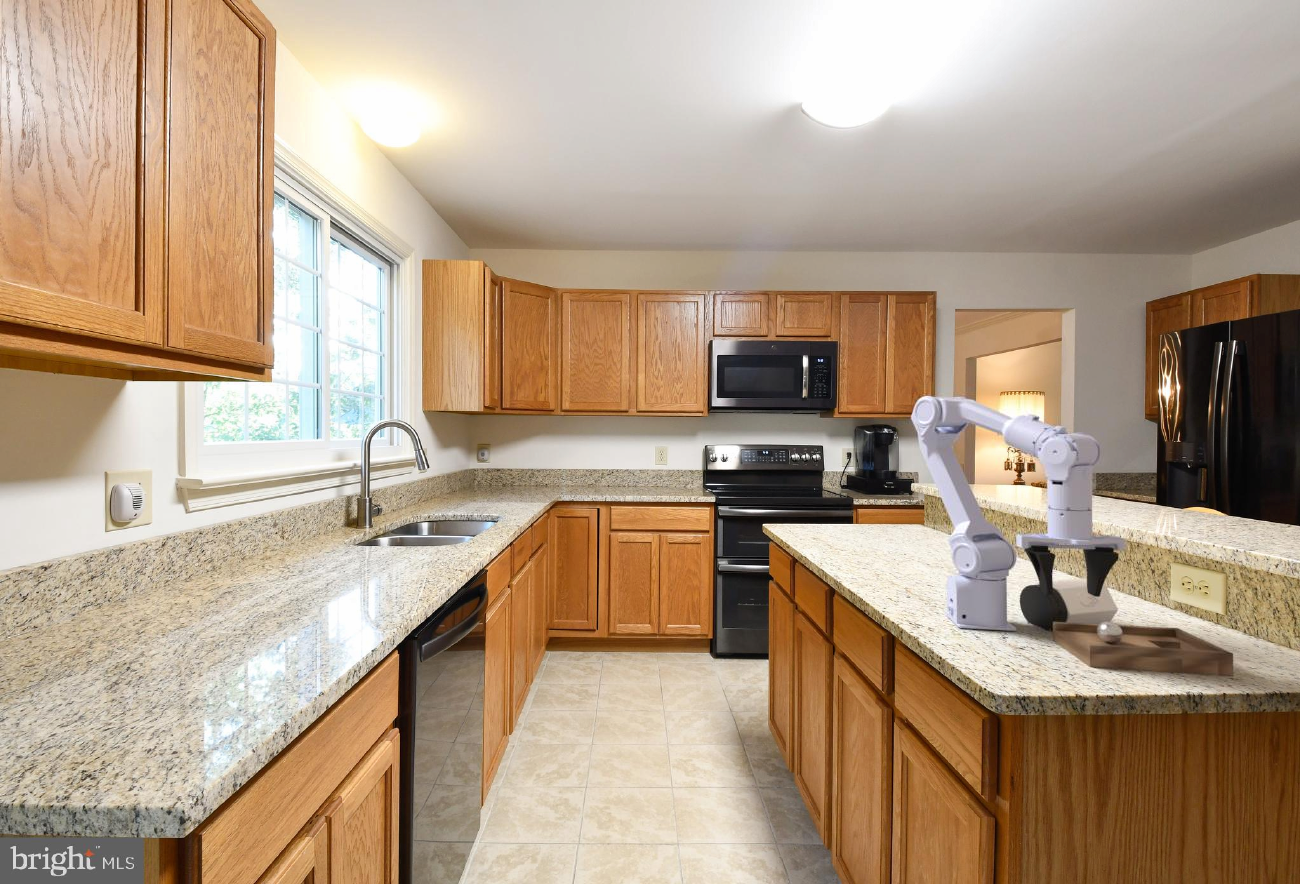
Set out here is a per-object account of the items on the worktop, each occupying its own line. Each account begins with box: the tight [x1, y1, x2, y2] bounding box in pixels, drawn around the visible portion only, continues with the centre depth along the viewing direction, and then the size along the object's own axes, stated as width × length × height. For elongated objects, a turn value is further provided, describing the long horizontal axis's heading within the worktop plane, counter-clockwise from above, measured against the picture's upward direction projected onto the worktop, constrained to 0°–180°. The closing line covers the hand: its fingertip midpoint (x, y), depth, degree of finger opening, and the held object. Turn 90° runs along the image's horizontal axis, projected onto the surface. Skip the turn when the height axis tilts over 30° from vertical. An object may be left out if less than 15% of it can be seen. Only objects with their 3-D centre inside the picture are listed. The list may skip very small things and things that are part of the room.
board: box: [1052, 622, 1234, 677], centre depth 87 cm, size 18×11×3 cm, turn 78°
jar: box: [1019, 577, 1119, 631], centre depth 102 cm, size 9×8×12 cm
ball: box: [1097, 621, 1123, 643], centre depth 88 cm, size 3×3×3 cm
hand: (1069, 594), depth 89 cm, fingers open, 6 cm apart
